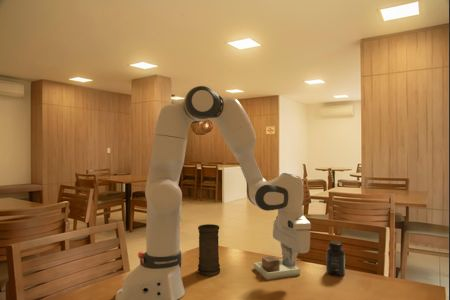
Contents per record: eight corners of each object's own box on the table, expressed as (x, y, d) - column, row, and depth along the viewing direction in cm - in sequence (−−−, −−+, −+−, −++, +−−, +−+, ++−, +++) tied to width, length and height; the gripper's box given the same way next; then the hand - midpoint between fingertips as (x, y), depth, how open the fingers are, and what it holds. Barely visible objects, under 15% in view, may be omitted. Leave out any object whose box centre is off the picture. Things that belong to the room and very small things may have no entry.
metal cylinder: (286, 267, 116) (287, 250, 116) (280, 263, 120) (280, 246, 120) (297, 266, 118) (298, 249, 118) (291, 262, 122) (291, 245, 122)
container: (217, 276, 127) (217, 229, 127) (194, 275, 129) (194, 228, 129) (222, 268, 136) (222, 224, 136) (201, 266, 138) (200, 223, 138)
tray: (267, 279, 124) (267, 273, 124) (253, 268, 135) (253, 262, 135) (300, 275, 129) (300, 268, 129) (284, 264, 140) (284, 258, 140)
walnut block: (267, 274, 127) (267, 261, 127) (262, 270, 132) (262, 257, 132) (279, 273, 129) (279, 260, 128) (273, 268, 133) (273, 256, 133)
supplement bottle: (348, 274, 129) (348, 243, 129) (335, 278, 126) (335, 246, 126) (335, 268, 135) (335, 239, 135) (322, 272, 132) (322, 241, 132)
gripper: (269, 213, 128) (268, 250, 128) (297, 226, 108) (296, 268, 109) (283, 213, 130) (282, 248, 130) (314, 225, 110) (312, 266, 111)
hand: (289, 258), depth 119 cm, fingers closed on metal cylinder, 4 cm apart
